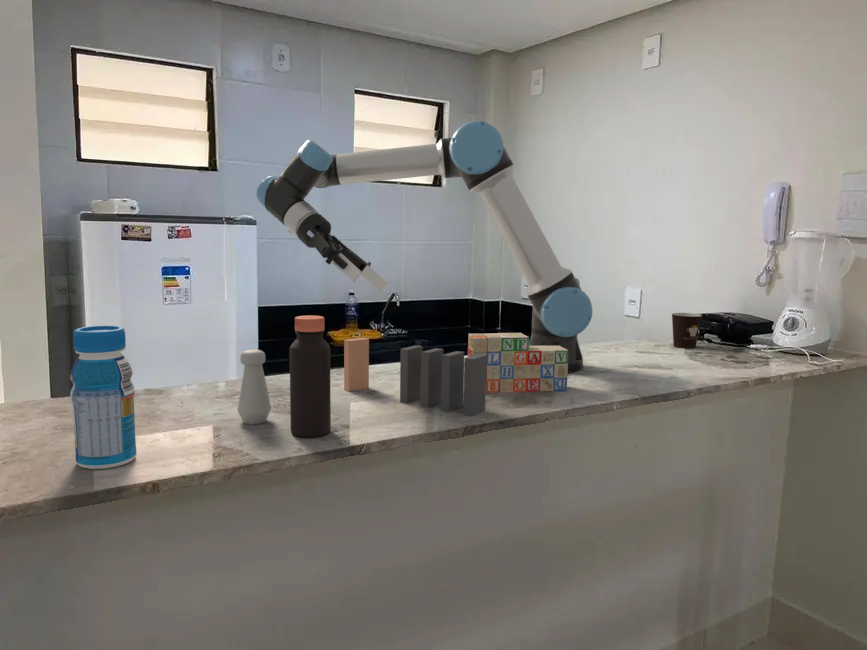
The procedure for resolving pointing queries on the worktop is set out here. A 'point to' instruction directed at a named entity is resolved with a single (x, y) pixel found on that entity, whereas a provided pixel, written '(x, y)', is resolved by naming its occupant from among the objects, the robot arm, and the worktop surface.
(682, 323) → the coffee mug
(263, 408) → the salt shaker
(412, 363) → the domino
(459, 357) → the domino
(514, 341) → the stack of blocks
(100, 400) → the beverage bottle
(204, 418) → the worktop surface
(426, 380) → the domino
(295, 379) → the vinegar
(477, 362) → the domino
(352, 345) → the orange domino
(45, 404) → the worktop surface
